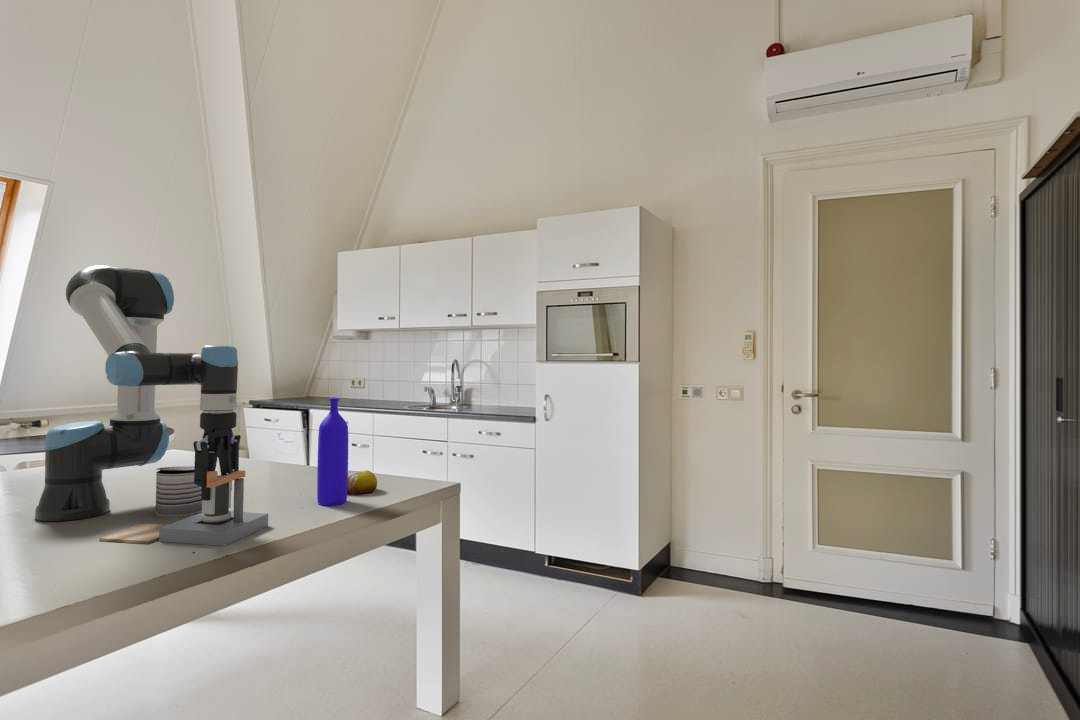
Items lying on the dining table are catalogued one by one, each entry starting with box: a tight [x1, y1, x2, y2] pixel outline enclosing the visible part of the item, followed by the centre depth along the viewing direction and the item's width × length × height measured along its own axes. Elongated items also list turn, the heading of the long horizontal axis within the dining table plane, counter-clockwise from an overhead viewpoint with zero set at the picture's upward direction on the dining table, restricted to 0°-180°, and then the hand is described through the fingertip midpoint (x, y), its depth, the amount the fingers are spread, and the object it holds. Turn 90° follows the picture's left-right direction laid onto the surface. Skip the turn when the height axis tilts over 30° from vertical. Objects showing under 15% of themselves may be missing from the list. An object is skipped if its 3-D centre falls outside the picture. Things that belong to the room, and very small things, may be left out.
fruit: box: [347, 470, 378, 496], centre depth 185 cm, size 11×10×8 cm
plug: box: [201, 474, 231, 525], centre depth 139 cm, size 6×6×13 cm
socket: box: [158, 477, 269, 547], centre depth 139 cm, size 16×16×13 cm
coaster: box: [98, 522, 167, 545], centre depth 137 cm, size 12×12×1 cm
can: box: [155, 465, 202, 518], centre depth 158 cm, size 11×11×12 cm
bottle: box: [316, 397, 349, 507], centre depth 170 cm, size 8×8×30 cm
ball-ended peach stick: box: [207, 470, 246, 488], centre depth 133 cm, size 13×3×3 cm, turn 179°
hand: (216, 510), depth 139 cm, fingers closed on plug, 5 cm apart
